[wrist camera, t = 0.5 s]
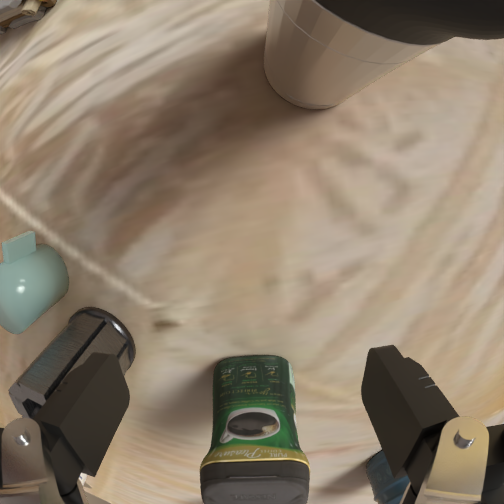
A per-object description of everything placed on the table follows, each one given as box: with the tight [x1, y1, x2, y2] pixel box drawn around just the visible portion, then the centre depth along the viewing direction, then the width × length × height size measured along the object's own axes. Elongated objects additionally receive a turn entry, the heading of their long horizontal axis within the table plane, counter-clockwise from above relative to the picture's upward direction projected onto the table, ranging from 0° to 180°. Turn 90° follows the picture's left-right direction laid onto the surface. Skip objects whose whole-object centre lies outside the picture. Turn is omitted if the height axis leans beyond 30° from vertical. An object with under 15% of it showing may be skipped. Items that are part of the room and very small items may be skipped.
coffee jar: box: [200, 355, 310, 504], centre depth 24 cm, size 10×8×19 cm
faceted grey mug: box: [8, 307, 136, 419], centre depth 25 cm, size 12×10×15 cm
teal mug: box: [0, 231, 69, 334], centre depth 25 cm, size 10×8×9 cm
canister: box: [366, 450, 410, 504], centre depth 33 cm, size 13×13×18 cm
